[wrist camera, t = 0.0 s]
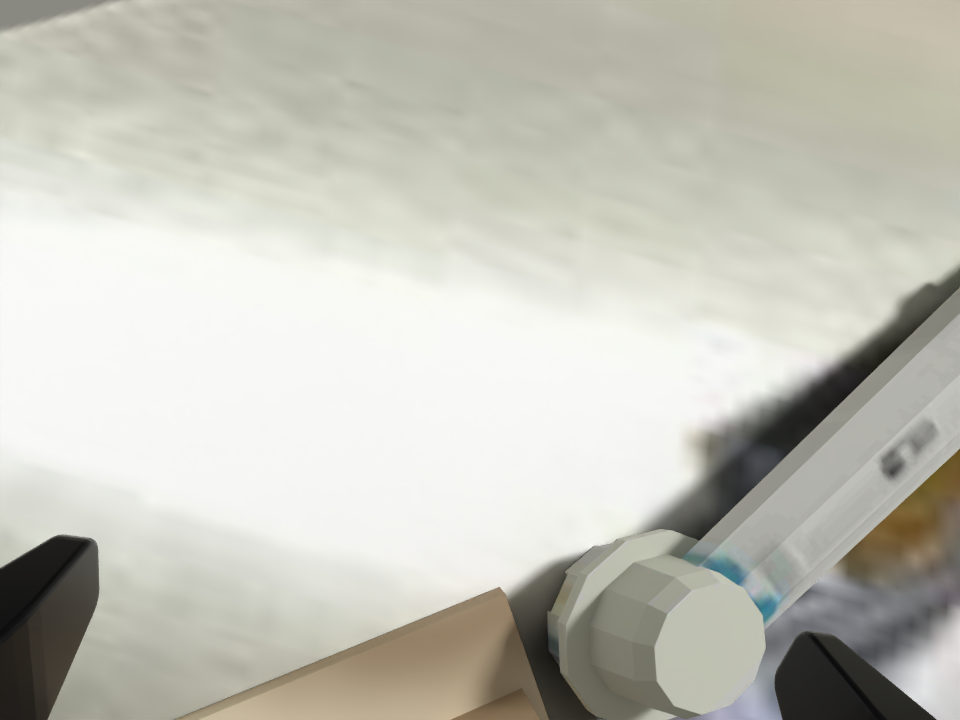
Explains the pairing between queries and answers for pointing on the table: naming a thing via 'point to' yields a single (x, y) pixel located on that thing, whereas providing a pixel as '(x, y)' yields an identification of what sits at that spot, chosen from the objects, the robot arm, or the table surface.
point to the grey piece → (755, 546)
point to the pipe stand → (408, 675)
